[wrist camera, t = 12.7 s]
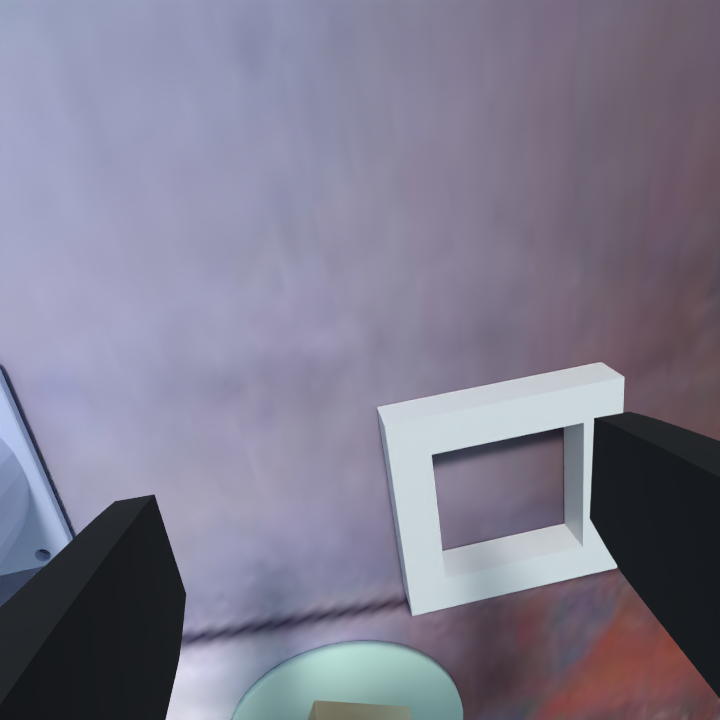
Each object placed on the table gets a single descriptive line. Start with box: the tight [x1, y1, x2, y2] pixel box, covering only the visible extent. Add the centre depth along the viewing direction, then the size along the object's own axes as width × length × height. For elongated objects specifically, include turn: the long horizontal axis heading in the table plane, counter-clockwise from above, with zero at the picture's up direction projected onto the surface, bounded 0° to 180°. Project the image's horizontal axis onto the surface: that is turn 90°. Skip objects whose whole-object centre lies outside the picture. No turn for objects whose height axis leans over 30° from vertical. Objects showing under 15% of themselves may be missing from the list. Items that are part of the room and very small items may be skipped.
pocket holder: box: [377, 362, 624, 616], centre depth 21 cm, size 9×9×2 cm
